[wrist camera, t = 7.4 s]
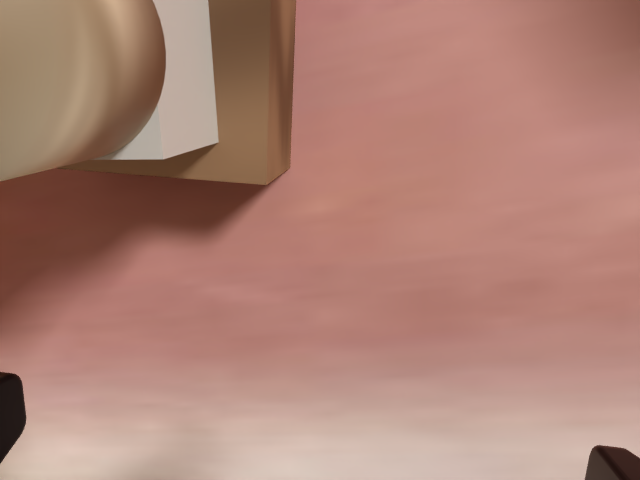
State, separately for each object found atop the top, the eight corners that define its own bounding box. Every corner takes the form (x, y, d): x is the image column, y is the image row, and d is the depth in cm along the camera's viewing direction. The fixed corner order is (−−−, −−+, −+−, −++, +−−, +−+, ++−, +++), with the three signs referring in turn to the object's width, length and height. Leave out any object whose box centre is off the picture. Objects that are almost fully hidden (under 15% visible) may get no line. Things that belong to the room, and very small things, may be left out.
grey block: (218, 142, 16) (162, 159, 12) (54, 143, 17) (-45, 160, 13) (203, -58, 15) (135, -108, 11) (24, -47, 16) (-98, -89, 12)
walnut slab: (291, 166, 20) (266, 185, 16) (95, 151, 21) (29, 166, 17) (300, -70, 18) (273, -111, 14) (80, -73, 19) (-1, -114, 15)
